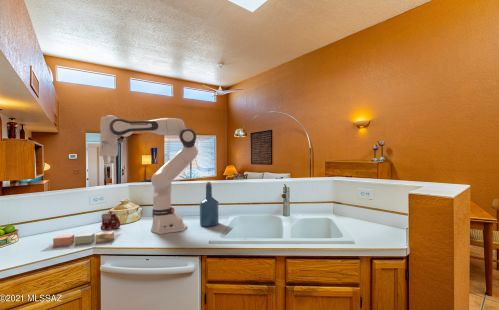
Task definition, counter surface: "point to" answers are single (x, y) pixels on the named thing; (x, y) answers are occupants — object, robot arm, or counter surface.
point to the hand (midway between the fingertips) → (109, 163)
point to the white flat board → (81, 244)
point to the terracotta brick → (63, 240)
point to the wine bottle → (209, 209)
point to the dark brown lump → (110, 221)
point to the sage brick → (84, 238)
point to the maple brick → (104, 236)
